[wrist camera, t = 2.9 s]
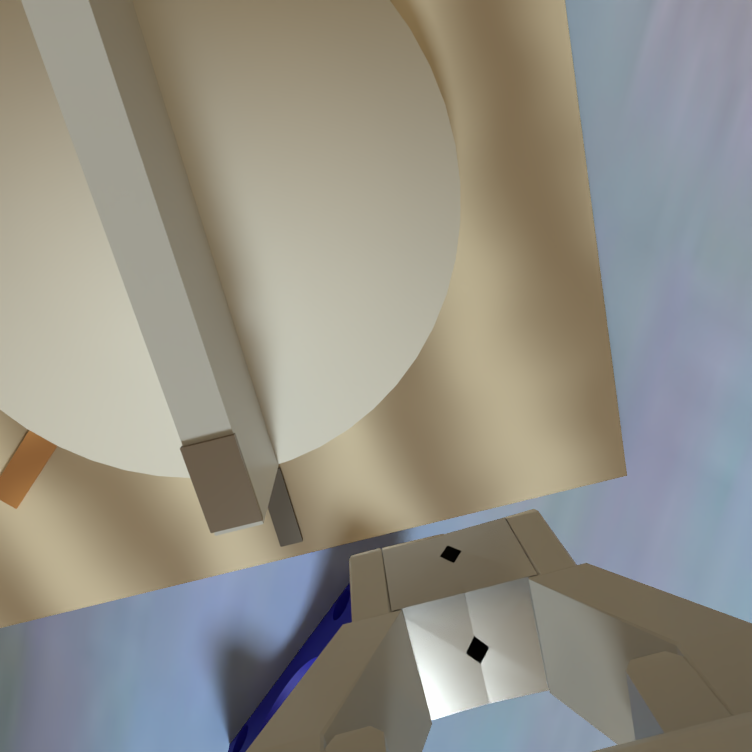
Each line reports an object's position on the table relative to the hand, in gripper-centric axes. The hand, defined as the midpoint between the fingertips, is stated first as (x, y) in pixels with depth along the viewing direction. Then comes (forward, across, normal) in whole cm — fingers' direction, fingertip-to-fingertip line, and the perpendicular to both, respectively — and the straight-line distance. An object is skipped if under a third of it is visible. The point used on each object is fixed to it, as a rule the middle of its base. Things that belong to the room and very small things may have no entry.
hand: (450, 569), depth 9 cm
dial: (+15, +6, -7) cm, 17 cm away
